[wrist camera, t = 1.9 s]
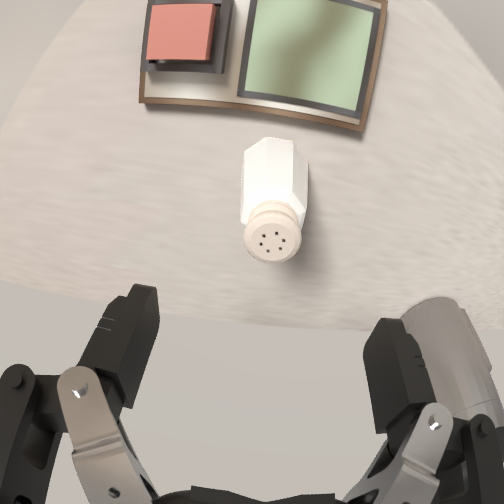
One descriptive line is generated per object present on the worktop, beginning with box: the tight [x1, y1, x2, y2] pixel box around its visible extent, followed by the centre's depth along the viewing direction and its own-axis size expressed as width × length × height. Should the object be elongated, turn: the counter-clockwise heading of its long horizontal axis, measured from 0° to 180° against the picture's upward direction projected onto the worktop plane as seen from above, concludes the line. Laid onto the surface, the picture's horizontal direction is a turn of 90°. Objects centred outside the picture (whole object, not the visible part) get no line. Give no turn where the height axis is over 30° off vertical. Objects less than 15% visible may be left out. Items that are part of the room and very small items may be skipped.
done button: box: [146, 4, 217, 61], centre depth 16 cm, size 4×4×2 cm
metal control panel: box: [139, 0, 388, 132], centre depth 17 cm, size 17×11×2 cm, turn 83°
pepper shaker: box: [240, 137, 308, 263], centre depth 19 cm, size 5×5×11 cm
